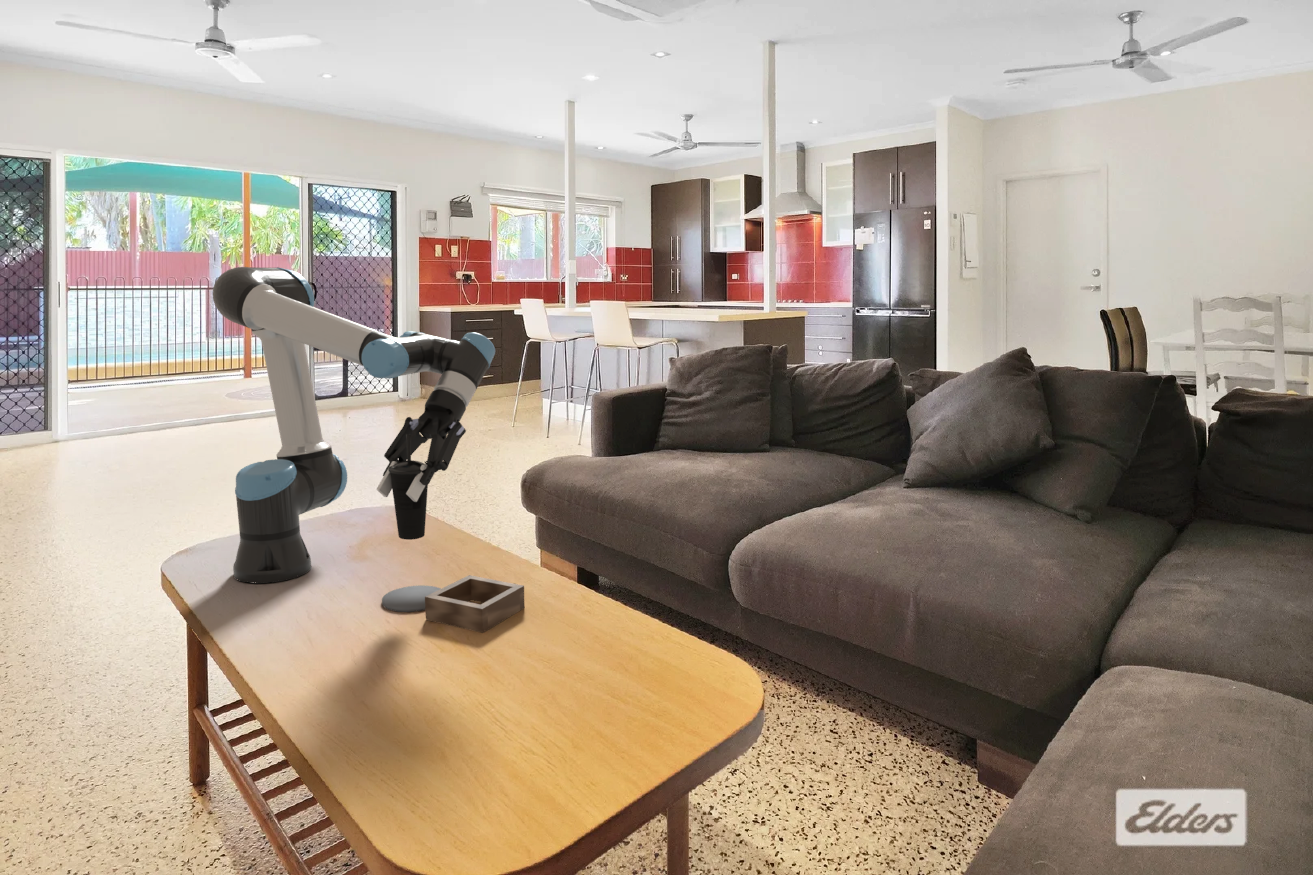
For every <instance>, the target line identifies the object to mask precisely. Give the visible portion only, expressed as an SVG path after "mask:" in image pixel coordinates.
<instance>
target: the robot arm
mask: <svg viewBox="0 0 1313 875" xmlns="http://www.w3.org/2000/svg"><path fill="white" fill-rule="evenodd" d="M212 300H213V303H214V305H215V308H216V309H217V311H218V312H219V313H220V314H221V316H222V317H224V318H225V319H227V320H229V322H230V321H231V322H232V323H235V324H237V325H239V326H243V327H245V328H248V329H250V330H251V333H252V335H254V336H256V337H257V338H258V339H259V340H260V342H261V346H262V352H263V355H264V360H265V365H266V366H265V367H266V371H267V376H268V377H267V378H268V381H269V387H270V391H271V396H272V397H271V398H272V401H273V407H274V412H275V417H276V422H277V426H278V433H279V437H280V442H281V448H280V449H279V450H278V452H277V453H276V458H277V459H267V460H264V461H257V462H253V463H250V464H247V465H246V466H244V467H243V468H241V469H240V470H238V472H237V473H236V476H235V488H234V493H235V498H236V507H237V508H236V509H237V518H238V527H239V529H238V530H239V543H238V548H237V552H236V556H235V562H234V563H233V565H232V566H233V577H235V578H236V579H238V580H240V581H239V582H241V581H243V582H242V583H245V582H254V583H253V584H266V583H265V582H272V583H278V582H284V581H288V580H289V581H290V580H292V579H295V578H298V577H300V576H303V575H304V574H306V573H308V572H309V571H310V570H311V569H312V560H311V559H312V558H311V556H310V553H309V551H308V548H307V546H306V544H305V542H304V539H303V538H302V535H301V529H300V528H301V527H300V515H303V514H304V513H305V514H306V513H308V512H310V511H313V510H315V509H317V508H324V507H326V506H327V505H330V504H331V503H332V502H334V501H336V500H337V499H339V498H340V497H341V495H342V494H343V493H344V491H345V489H346V488H347V485H348V484H347V483H348V472H347V467H346V465H345V463H344V462H343V460H341V459H340V457H339V456H338V455H336V454H335V453H333V449H332V445H331V443H330V444H329V443H328V442H326V441H325V440H324V439H323V434H322V428H321V425H320V419H319V413H318V408H317V402H316V398H315V392H314V386H313V382H312V376H311V375H312V374H311V371H310V366H309V360H308V356H307V349H306V345H307V346H309V347H312V348H315V349H318V350H320V351H321V352H325V353H328V354H330V355H333V356H336V357H338V358H342V359H344V360H346V361H349V362H351V363H354V364H357V365H359V366H362V367H363V369H364V370H366V372H367V373H368V374H369V375H370V376H371V377H374V378H376V379H395V378H397V377H402V376H406V375H410V374H411V375H413V374H417V373H423V372H429V373H435V374H440V377H439V379H438V380H437V381H436V383H435V385H434V387H433V390H432V391H431V393H430V395H429V396H428V398H427V399H426V402H425V404H424V412H423V413H422V414H421V415H420V416H418V418H414V419H413V418H412V417H411V416H408V417H407V416H406V418H405V420H404V423H403V426H402V427H401V429H400V430H399V432H398V433H397V435H396V437H395V438H394V440H393V441H392V443H391V444H390V445H389V447H388V449H387V450H386V451H385V453H384V454H383V457H384V458H385V459H386V460H387V461H388V462H389V463H388V464H387V466H386V468H385V469H384V471H383V473H382V479H381V480H380V482H379V484H378V486H377V487H376V491H378V493H380V494H381V495H382V496H383V497H384V498H388V497H389V495H390V493H391V491H393V490H392V483H391V475H390V472H389V470H388V468H389V467H390V466H392V465H395V464H396V463H399V462H402V461H407V436H406V435H407V434H410V444H411V456H412V455H413V454H414V453H415V452H416V451H417V449H418V448H419V447H420V446H421V445H422V444H426V443H427V441H429V440H430V439H431V440H430V446H429V450H428V455H427V460H425V461H424V462H423V463H424V464H426V465H427V467H426V466H425V465H421V467H420V470H425V469H426V470H425V472H424V473H422V471H421V473H420V474H418V475H417V476H416V477H415V478H414V480H413V482H412V484H411V485H410V487H409V489H408V491H407V493H406V494H407V495H408V496H409V497H410V498H411V499H412V500H413V501H414V502H417V500H418V498H419V497H420V495H421V493H422V491H423V489H424V487H425V485H428V486H429V484H430V483H431V481H432V479H433V477H434V475H435V473H437V472H439V471H443V472H444V471H447V469H448V467H449V465H450V464H451V461H452V458H453V456H454V454H455V451H456V449H457V447H458V444H459V441H461V438H462V437H463V436H464V434H466V432H467V429H466V428H465V426H463V425H462V423H461V422H460V421H461V419H462V418H463V417H464V414H465V413H466V410H467V407H468V406H469V405H470V403H471V400H472V398H473V397H474V394H475V393H476V391H477V390H478V387H479V385H480V384H481V382H482V380H483V379H484V377H485V375H486V373H487V371H488V370H489V369H490V367H491V363H492V361H493V359H494V357H495V354H496V348H495V346H494V344H493V342H492V341H491V340H490V339H489V338H488V337H487V336H485V335H483V334H481V333H479V332H467V333H465V334H464V336H463V337H461V338H460V339H461V340H455V339H447V338H445V337H440V336H435V335H431V334H427V333H425V332H422V331H412V330H408V331H404V332H403V334H402V335H400V336H399V337H395V336H392V335H390V334H386V333H385V332H381V331H378V330H377V329H376V330H375V329H374V328H370V327H367V326H365V325H363V324H360V323H357V322H354V321H352V320H350V319H346V318H344V317H341V316H338V315H336V314H333V313H330V312H329V311H325V310H322V309H320V308H317V307H315V296H314V292H313V288H312V287H311V285H310V283H309V281H307V279H306V278H305V277H304V276H302V275H301V274H300V273H299V272H297V271H295V270H292V269H288V268H282V267H279V266H277V267H253V266H252V267H249V266H237V267H233V268H230V269H227V270H225V271H224V272H222V273H221V275H219V277H217V279H216V280H215V282H214V284H213V288H212ZM235 578H234V579H235ZM236 579H235V580H236ZM238 580H237V581H238ZM255 582H256V583H255ZM263 582H264V583H263Z"/></svg>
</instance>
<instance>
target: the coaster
mask: <svg viewBox="0 0 1313 875" xmlns="http://www.w3.org/2000/svg"><path fill="white" fill-rule="evenodd" d="M440 589H442V588H441V587H437V586H433V585H411V586H403V587H399V588H396V589H393V590H391V591H389V592H387V593H385V594H383V596H382V598H381V603H382V604H381V605H382V607H383V608H385V609H386V610H387V611H390V612H391V611H393V612H399V613H415V612H423V611H425V596H427V595H429V594H431V593H434V592H436V591H438V590H440Z"/></svg>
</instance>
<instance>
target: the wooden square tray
mask: <svg viewBox="0 0 1313 875" xmlns="http://www.w3.org/2000/svg"><path fill="white" fill-rule="evenodd" d="M472 601H473V602H472ZM474 602H478V603H474ZM479 603H481V604H479ZM523 608H524V609H525V585H522V584H517V583H512V582H508V581H502V580H496V579H492V578H486V577H480V576H475V575H472V574H469V575H468V574H467V576H465V577H462V578H460V579H459V580H456V581H454V582H452V583H450V584H448V585H446V586H444V587H442V588H441V589H440V590H438V591H436V592H434V593H431V594H429V595H427V596H425V610H424V611H425V612H424V613H425V620H426V621H430V622H435V623H439V624H442V625H443V624H444V625H446V626H447V625H448V626H452V627H457V628H460V629H464V630H465V629H466V630H469V631H474V632H478V633H482V634H483V633H485V632H487V631H488V630H490V629H492V628H494V627H496V626H497V625H499V624H500V623H502V622H503V621H505V620H507V619H509V618H510V617H512V616H514V615H516V613H518V612H520V611H522V610H523Z"/></svg>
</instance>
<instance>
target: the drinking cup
mask: <svg viewBox="0 0 1313 875" xmlns="http://www.w3.org/2000/svg"><path fill="white" fill-rule="evenodd" d="M406 436H407V460H406V461H402V462H399V463H396V464H395V465H392V466H390V467H389V468H388V470H389V472H390V475H391V483H392V490H391V491H392V496H393V503H394V513H395V519H396V526H397V535H398V538H400V539H401V540H407V541H408V540H412V541H413V540H418V539H421V538H423V537H424V536H425V532H426V517H427V504H428V503H427V502H428V489H429V488H428V486H429V484H428V485H425V487H424V489H423V491H422V493H421V495H420V497H419V498H418V500H417V502H414V501H413V500H412V499H411V498H410V497H409V496H408V495H407V494H406V493H407V491H408V489H409V487H410V485H411V484H412V482H413V480H414V478H415V477H416V476H417V475H418V474H420V473H421V471H422V473H424V472H425V470H426V469H425V470H420V467H421V465H425V466H426V467H427V465H426V464H425V462H423V461H419V460H412V455H411V444H410V434H407V435H406Z"/></svg>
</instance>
